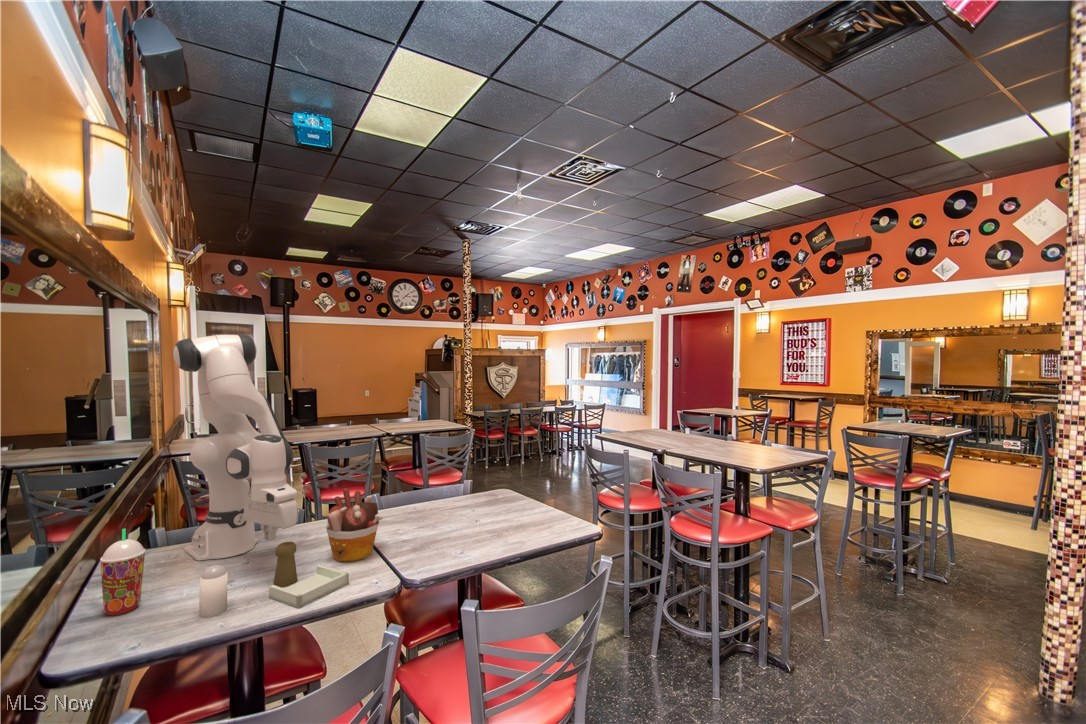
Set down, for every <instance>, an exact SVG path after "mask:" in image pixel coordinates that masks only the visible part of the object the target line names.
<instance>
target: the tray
mask: <svg viewBox="0 0 1086 724" xmlns="http://www.w3.org/2000/svg"><path fill="white" fill-rule="evenodd" d="M349 574H350V573H349V572H346V571H343V570H339V569H335V568H332V567H329V566H325V565H321V564H319V565H317V566H316V574H314V575H311V576H309V577H307V578H304V579H302V580H300V581H297V583H295V584H293V585H290V586H288V587H283V588H281V587H278V586H275V585H273V584H272V585H269V587H268V598H269V599H271V600H274V601H277V602H280V603H282V604H284V605H288V606H290V607H293V608H296V609H300V608H303V607H304V606H307V605H309V604H311V603H314V602H315V601H317V600H318V599H321V598H323V597H326V596H327V595H329V594H331V593H333V592H336V591H337V590H340V589H342V588H344V587H346V586H348V585H349V583H350V582H349V580H350V579H349Z"/></svg>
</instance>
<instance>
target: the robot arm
mask: <svg viewBox="0 0 1086 724" xmlns="http://www.w3.org/2000/svg"><path fill="white" fill-rule="evenodd" d="M257 352H258V350H257V345H256V343H255V341H254V339H253V337H252V336H250V335H248V334H245V333H244V334H242V333H237V334H213V335H208V336H199V337H194V338H191V337H189V338H184V339H181V340H178V341H177V342H176V343H175V346H174V349H173V352H172V353H173V354H172V355H173V359H174V362H175V364H176V365H177V367H178V368H179V369H180V370H182V371H184V372H192V373H195V372H197V388H198V397H199V401H200V407H201V411H202V416H203V419H204V420H205V421H206V423H209V424H211V425H212V426H213V427H214V428H215V430H216V432H217V433H218V434H217V435H211V436H208V437H206V438H204V439H202V440H199V441H198V442H196V443H194V445H193V446H192V448H191V449H190V455H189V456H190V461H191V463H192V465H193V466H194V467H195V468H196V469H198V470H199V471H200V472H202V473H203V475H204V477H205V479H206V482H207V485H208V496H209V502H208V503H209V504H208V505H209V507H208V508H209V509H206V513H205V514H206V516H205V521H204V523H202V524H201V525H200V526H199V527H198V528H197V529H196V530H195V531H194V533H193V535H192V536H191V542H192V543H190V544H188V545H186V546H185V547H184V548H183V549H184V552H185V553H187V554H188V555H189V556H190V557H192V558H193V559H194V560H195V561H205V560H213V559H214V560H215V559H225V558H229V557H235V556H238V555H242V554H244V553H247V552H249V551H252V549H254V548H255V545H256V544H258V543H259V538H258V537H256V531H255V524H260V530H261V531H262V533H263V540H265V541H270V542H272V541H275V540H276V538H277V536H276V535H277V532H278V530H279V529H282V530H286V529H289V528H292V527H295V525H296V524H297V522H298V503H297V499H296V498H298V490H297V489H296V488H294V487H292V486H291V485H290V484H289V483H287V476H286V473H285V472H286V471H287V470H288V469H289V468H290V467H291V466H292V464H293V461H294V457H295V455H294V450H293V448H292V446H291V444H290V443H289V442H288V441H287V439H286V437H285V434H284V433H283V430H282V428H281V425H280V422H279V420H278V419H277V416H276V414H275V411H274V410H273V408H272V405H271V403H270V401H269V399H268V398H267V397H266V396H265V395H263V394H262V393H260V391H259V390H258V389H257V387H256V386H255V385H254V383H253V380H252V377H251V374H250V370H249V367H248V366H249V365H251V364H252V363H253V362H254V361H255V360H256V357H257ZM247 416H248V417H249V418H251V419H253V420H254V422H256V425H257V427H258V430H259V431H257V430H256V429H255V428H254V427H253V425H252V424H251V422H250V421H249V419H248V417H247ZM248 479H251V483H250V482H249V480H248Z"/></svg>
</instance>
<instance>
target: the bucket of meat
mask: <svg viewBox="0 0 1086 724" xmlns="http://www.w3.org/2000/svg"><path fill="white" fill-rule="evenodd" d="M342 493H343V498H344V503H345V506H344V503H343V501H342V498H341V496H335V497H334V499H333V501H334V503H335V505H333V506H332V507H331V508H330V509H329V512H328V513H327V514H326V520H327V523H326V533H327V537H328V541H329V544H330V545H329V546H330V549H331V553H332V558H333V559H335V561H337V562H341V563H352V562H353V563H354V562H357V561H361V560H364V559H365V558H367V556H368V557H369V556H370V555H371V554H372V553H373V549H374V544H375V541H376V536H377V532H378V528H379V522H380V521H382V520H383V519H384V517H383V515H381V514H379V509H378V503H377V502H372V500H373V496H372V495H367V496H366V497H365V498H364V501H363V502H362V494H361V493H362V492H361V491H360V490H356V491H355V492H354V504H355V505H353V504H352V500H351V499H352V498H351V495H350V489H349V488H347V487H345V488H343V491H342Z"/></svg>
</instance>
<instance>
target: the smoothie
mask: <svg viewBox="0 0 1086 724" xmlns="http://www.w3.org/2000/svg"><path fill="white" fill-rule="evenodd" d="M126 530H127V529H126V528H122V529H121V533H122V534H121V540H118V541H116V542H113V543H112V544H111V545H109V546H108V547H107V549H106V550H105V551H104V553H103V555H102V556H101V557H100V558H99V559H100V575H101V576H100V577H101V588H102V589H101V591H102V606H103V608H102V609H103V611H105V613H106V615H107V616H111V617H112V616H119V615H120V616H121V615H124V614H127V613H130V612H131V611H134V610H135V609H136V608H137V607H139V606H138V605H139V603H140V602H141V597H142V590H143V589H142V587H143V579H144V578H143V577H144V567H145V557H146V548H144V546H143V545H142V544H141V543H140V541H137V540H136V539H130V538H126Z"/></svg>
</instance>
